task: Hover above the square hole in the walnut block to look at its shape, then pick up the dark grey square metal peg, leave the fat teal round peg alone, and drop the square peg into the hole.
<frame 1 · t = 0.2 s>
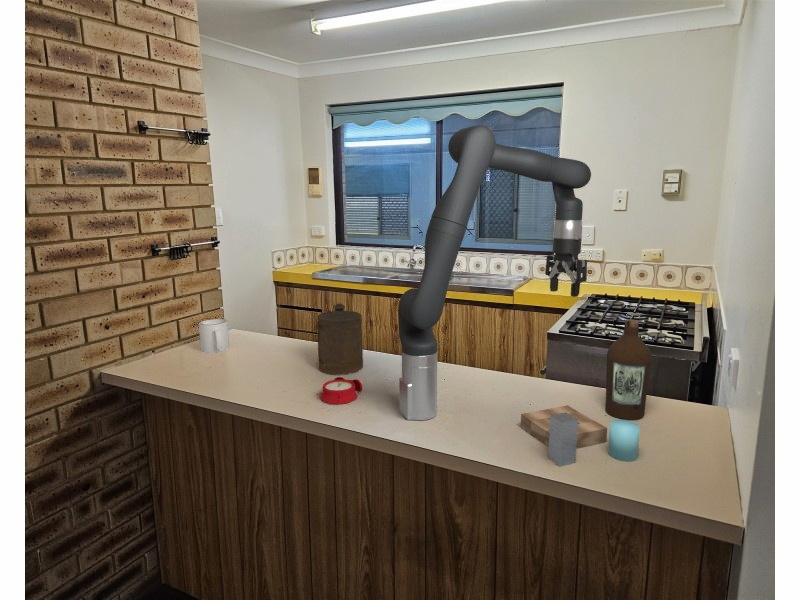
hand: (564, 293, 145), 29 cm above the countertop, tool pointing down, fingers open, 8 cm apart
square peg: (561, 460, 111), on the countertop
mug: (215, 350, 193), on the countertop
brown bottle: (623, 413, 134), on the countertop
wooden container: (341, 368, 172), on the countertop
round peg: (622, 454, 113), on the countertop
socket block: (562, 434, 123), on the countertop
alarm clock: (341, 396, 148), on the countertop
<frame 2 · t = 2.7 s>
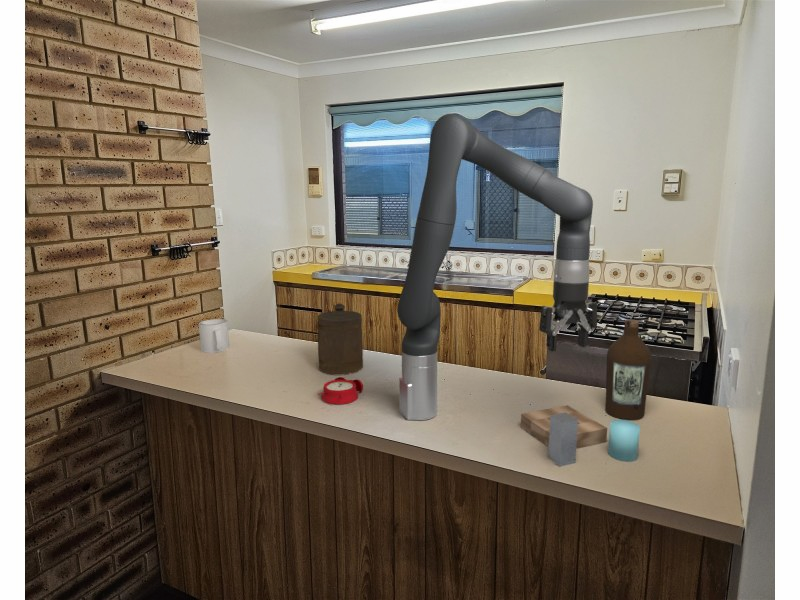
hand: (567, 348, 118), 22 cm above the countertop, tool pointing down, fingers open, 8 cm apart
nothing on the countertop moved.
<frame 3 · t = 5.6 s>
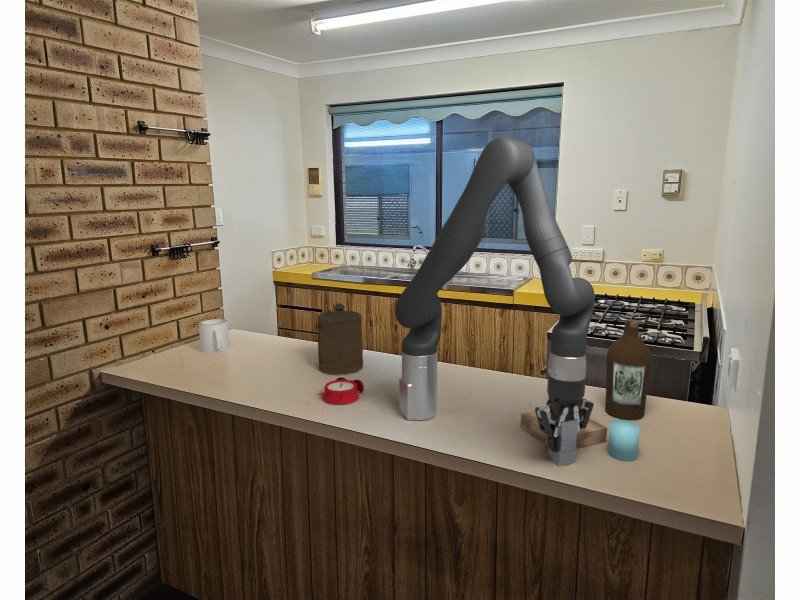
hand: (562, 448, 110), 3 cm above the countertop, tool pointing down, fingers closed on square peg, 4 cm apart
square peg: (561, 460, 111), on the countertop, touching gripper
everything else where it was.
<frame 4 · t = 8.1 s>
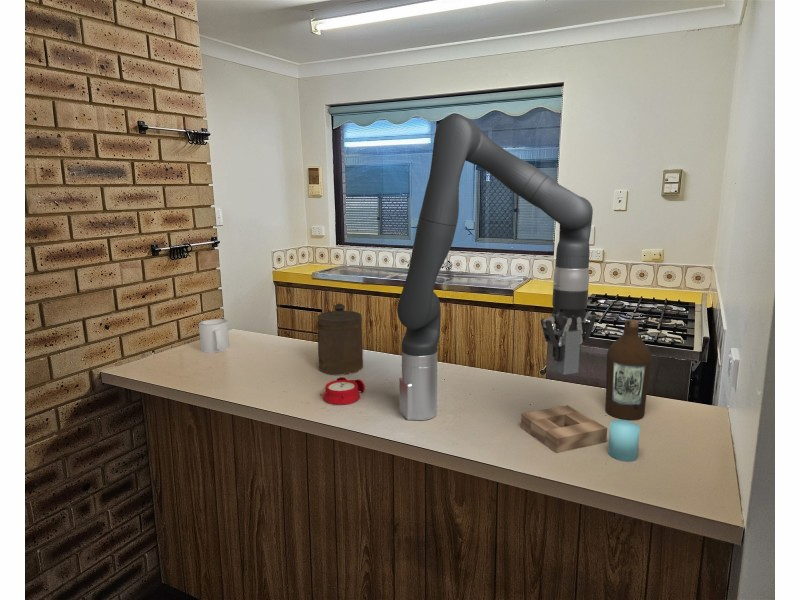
hand: (566, 359, 118), 19 cm above the countertop, tool pointing down, fingers closed on square peg, 4 cm apart
square peg: (565, 370, 119), point 16 cm above the countertop, touching gripper
everything else where it was.
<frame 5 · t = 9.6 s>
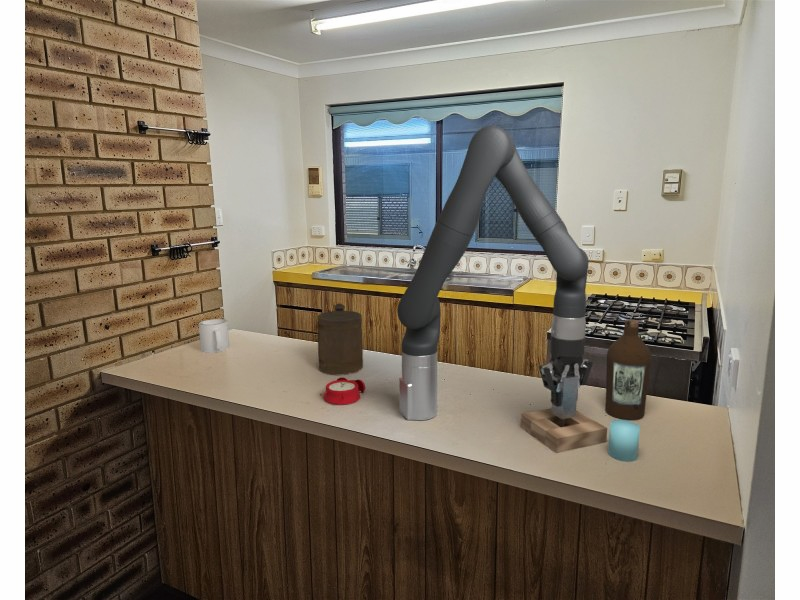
hand: (564, 403, 121), 8 cm above the countertop, tool pointing down, fingers closed on square peg, 4 cm apart
square peg: (563, 414, 122), point 5 cm above the countertop, touching gripper
everything else where it was.
when the fingers open (5 cm above the countertop, at t = 10.6 s): square peg drops 2 cm, resting on socket block.
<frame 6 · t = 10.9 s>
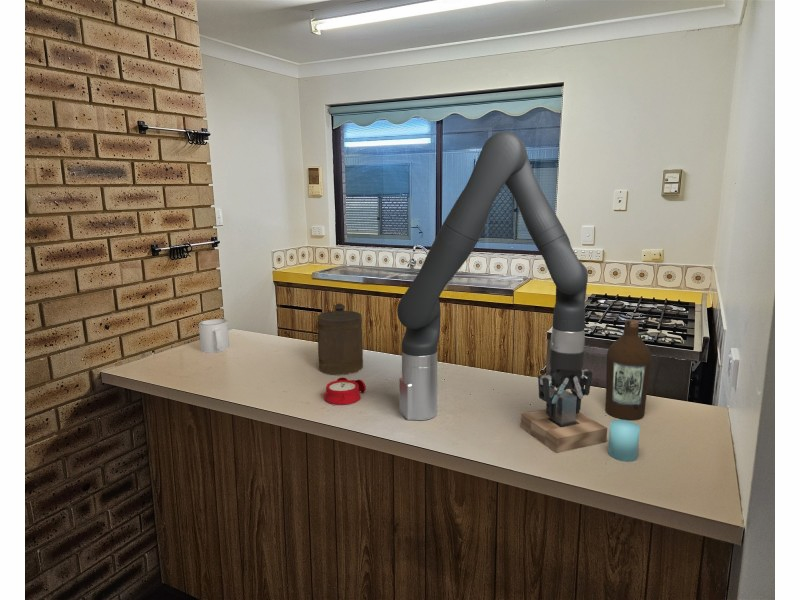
hand: (563, 414, 122), 5 cm above the countertop, tool pointing down, fingers open, 6 cm apart
square peg: (562, 433, 123), resting on socket block
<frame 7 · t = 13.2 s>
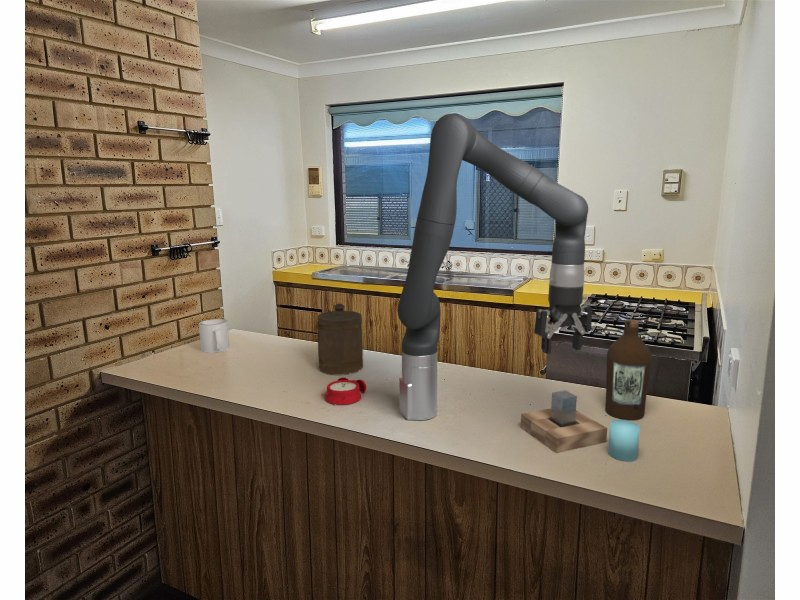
hand: (561, 351, 120), 21 cm above the countertop, tool pointing down, fingers open, 8 cm apart
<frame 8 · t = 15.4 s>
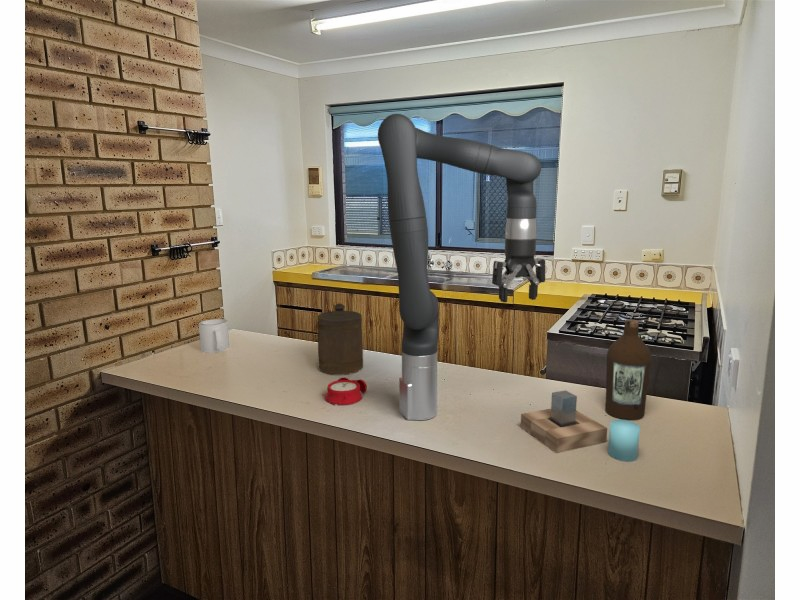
hand: (518, 300, 130), 30 cm above the countertop, tool pointing down, fingers open, 8 cm apart
at the end: square peg 0.1 cm off-centre on the socket block, point 0.2 cm above the socket block's base; square peg tilted 0°; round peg moved 0.1 cm from its start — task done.
